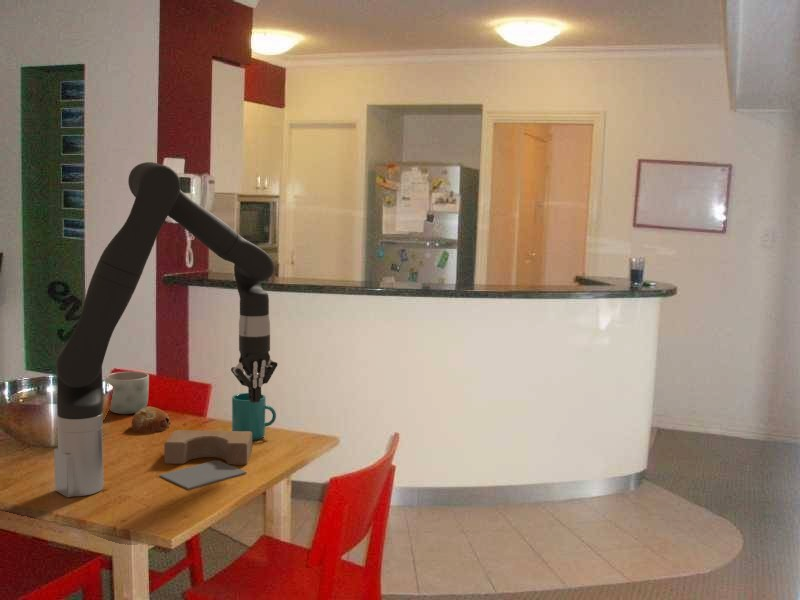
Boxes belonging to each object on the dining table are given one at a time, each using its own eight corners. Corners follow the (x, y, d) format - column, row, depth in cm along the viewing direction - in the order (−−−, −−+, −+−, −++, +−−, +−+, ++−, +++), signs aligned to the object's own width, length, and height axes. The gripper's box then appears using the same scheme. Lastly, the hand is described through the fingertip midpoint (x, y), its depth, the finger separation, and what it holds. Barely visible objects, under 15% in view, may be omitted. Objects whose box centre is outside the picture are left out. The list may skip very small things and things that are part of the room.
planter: (156, 407, 250) (156, 373, 248) (136, 417, 237) (136, 381, 236) (119, 404, 252) (119, 370, 250) (97, 414, 240) (97, 378, 238)
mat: (188, 489, 181) (188, 488, 181) (159, 476, 189) (159, 474, 189) (246, 473, 193) (246, 471, 193) (216, 461, 201) (216, 460, 201)
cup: (274, 441, 219) (275, 401, 218) (229, 441, 218) (229, 400, 217) (277, 432, 228) (277, 393, 227) (234, 431, 227) (234, 392, 226)
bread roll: (142, 435, 233) (130, 411, 232) (175, 420, 233) (163, 396, 232) (135, 445, 223) (122, 420, 222) (169, 430, 224) (157, 404, 222)
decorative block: (246, 443, 198) (163, 442, 197) (246, 466, 199) (164, 465, 198) (252, 430, 209) (174, 429, 208) (252, 451, 210) (174, 450, 209)
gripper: (241, 337, 190) (242, 409, 192) (285, 331, 200) (285, 400, 202) (222, 333, 195) (223, 403, 197) (266, 327, 205) (266, 394, 207)
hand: (254, 401), depth 200 cm, fingers closed
